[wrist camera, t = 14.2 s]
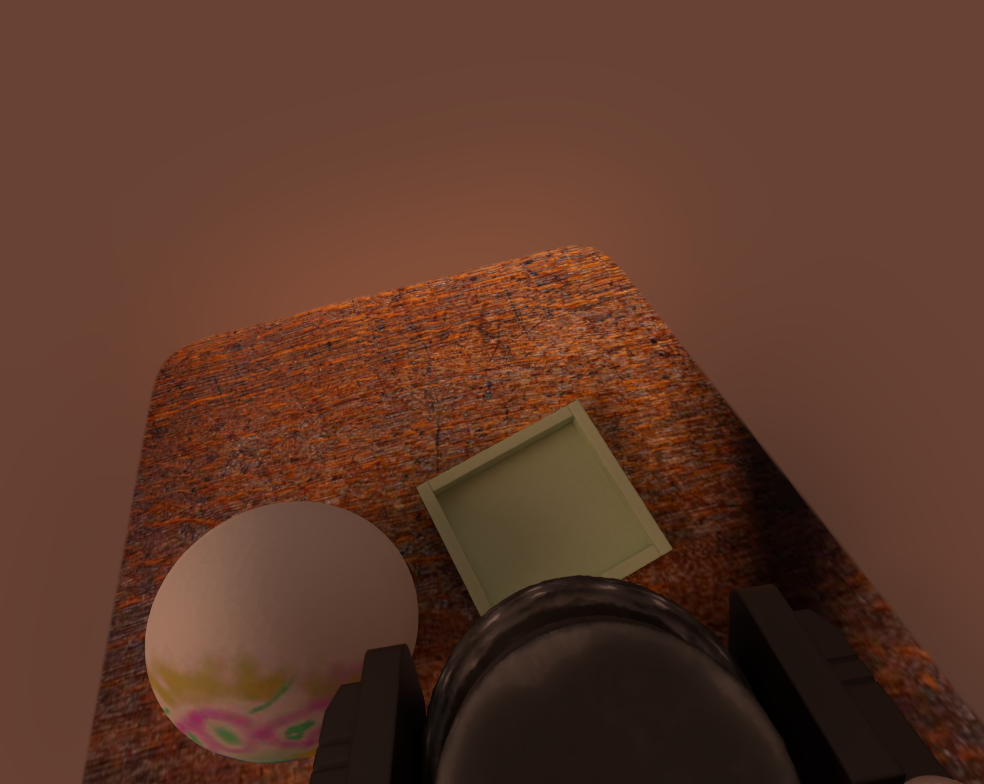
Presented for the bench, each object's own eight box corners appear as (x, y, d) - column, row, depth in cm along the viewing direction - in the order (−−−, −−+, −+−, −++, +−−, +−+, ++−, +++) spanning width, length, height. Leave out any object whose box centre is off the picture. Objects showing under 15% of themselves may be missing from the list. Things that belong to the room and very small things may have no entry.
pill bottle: (496, 563, 19) (452, 510, 9) (690, 616, 18) (897, 627, 8) (441, 779, 17) (300, 1039, 7) (655, 850, 16) (868, 1276, 6)
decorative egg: (216, 725, 35) (3, 808, 21) (254, 514, 39) (97, 463, 25) (423, 740, 34) (347, 835, 20) (439, 522, 38) (386, 473, 24)
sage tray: (575, 409, 40) (578, 398, 38) (665, 552, 37) (673, 549, 35) (421, 493, 39) (415, 487, 37) (500, 649, 35) (498, 652, 33)
